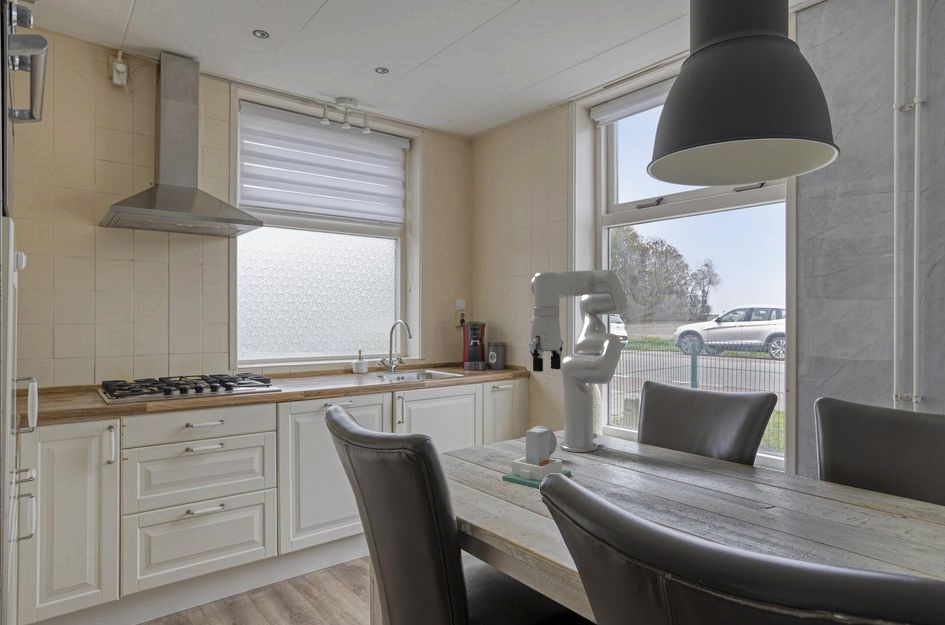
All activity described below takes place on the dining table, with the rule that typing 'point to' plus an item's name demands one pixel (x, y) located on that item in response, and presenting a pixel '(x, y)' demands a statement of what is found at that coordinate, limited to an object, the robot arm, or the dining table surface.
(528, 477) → the board
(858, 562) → the dining table surface
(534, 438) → the skincare box
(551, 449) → the donut
